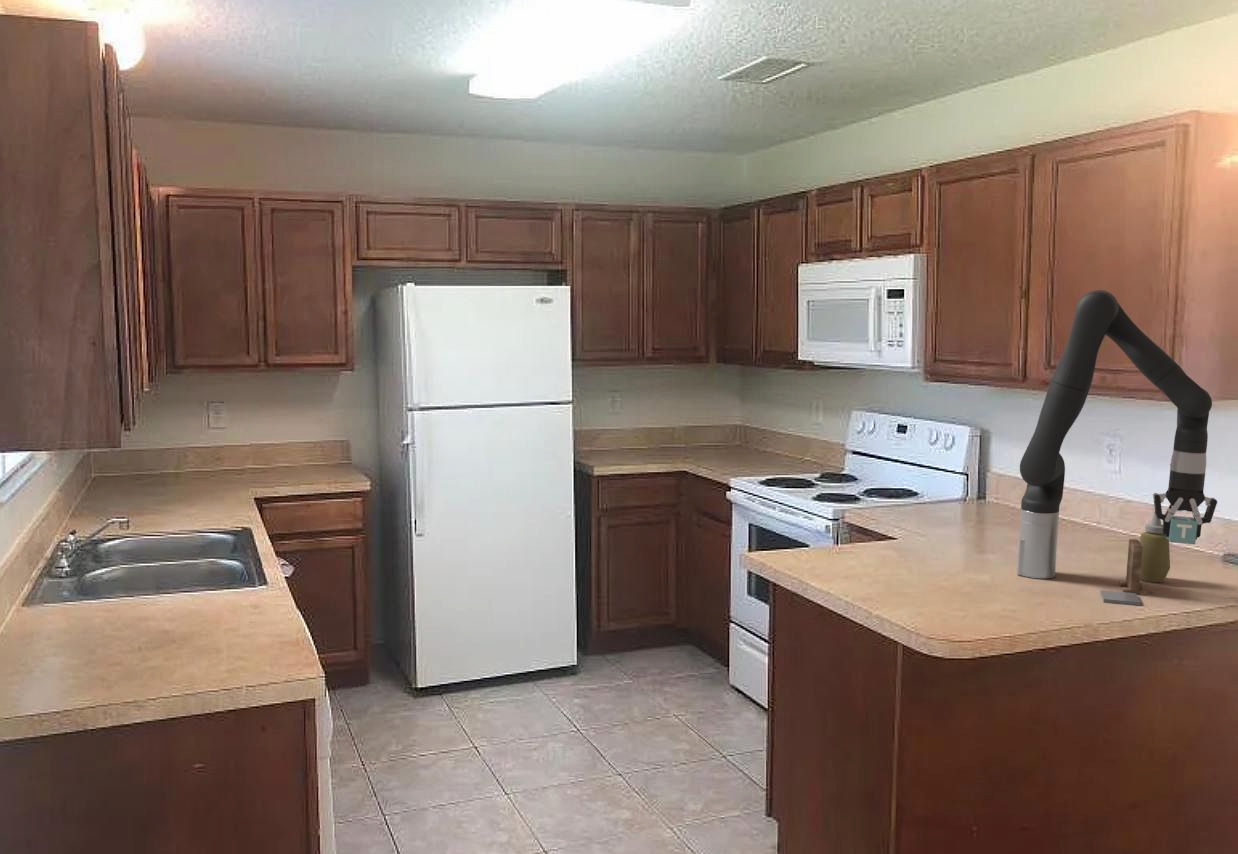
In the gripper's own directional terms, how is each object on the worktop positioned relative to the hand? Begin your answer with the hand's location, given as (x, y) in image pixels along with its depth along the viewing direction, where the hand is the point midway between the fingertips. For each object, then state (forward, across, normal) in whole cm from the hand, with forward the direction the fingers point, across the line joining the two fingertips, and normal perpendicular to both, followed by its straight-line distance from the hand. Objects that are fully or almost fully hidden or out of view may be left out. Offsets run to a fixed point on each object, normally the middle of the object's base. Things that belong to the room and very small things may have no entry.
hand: (1180, 537), depth 254 cm
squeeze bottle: (+15, -4, +12) cm, 19 cm away
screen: (+14, -10, 0) cm, 17 cm away
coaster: (+14, -14, -10) cm, 22 cm away
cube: (+1, 0, 0) cm, 1 cm away
